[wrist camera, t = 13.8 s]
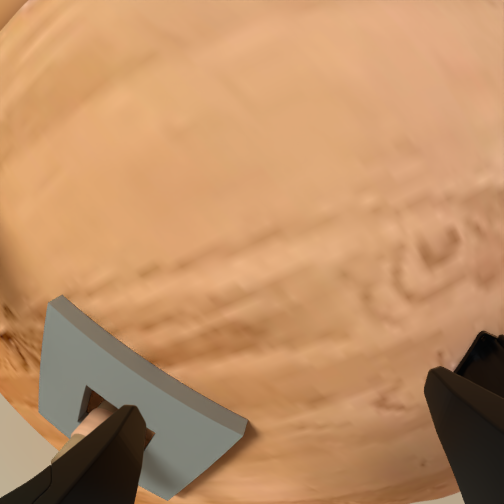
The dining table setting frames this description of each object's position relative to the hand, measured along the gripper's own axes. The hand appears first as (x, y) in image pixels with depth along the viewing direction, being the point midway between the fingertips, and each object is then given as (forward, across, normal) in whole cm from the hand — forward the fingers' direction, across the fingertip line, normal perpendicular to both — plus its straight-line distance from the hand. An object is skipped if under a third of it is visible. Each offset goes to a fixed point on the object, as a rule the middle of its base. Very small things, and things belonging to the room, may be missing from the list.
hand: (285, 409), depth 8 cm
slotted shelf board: (+14, +17, +16) cm, 27 cm away
